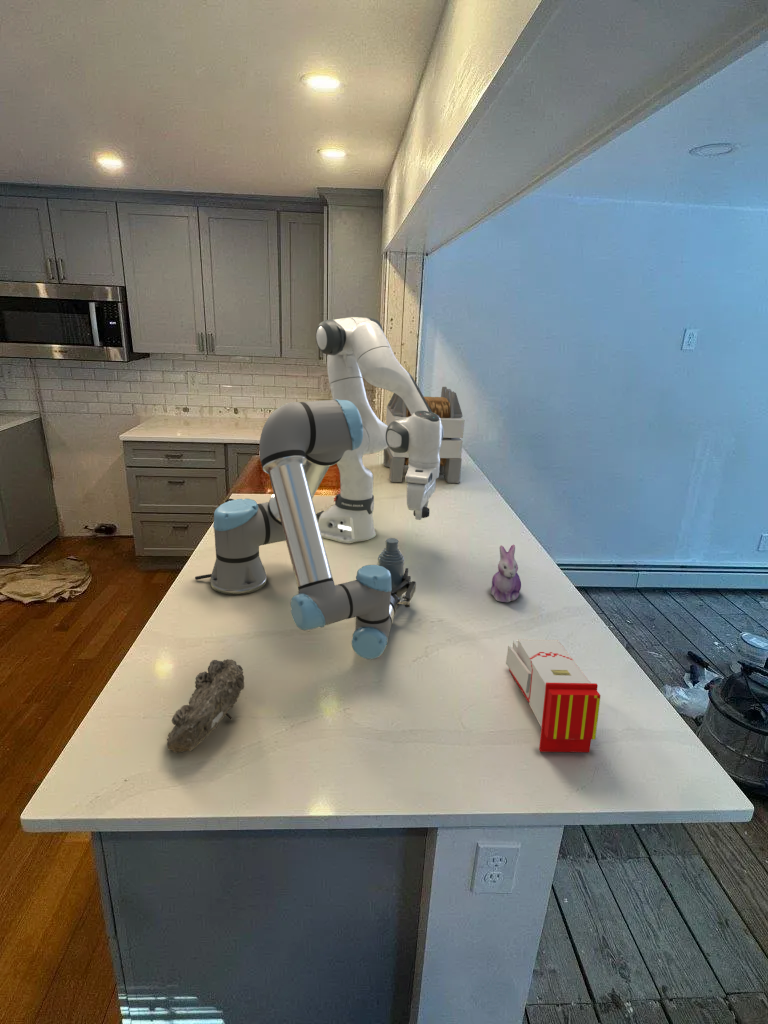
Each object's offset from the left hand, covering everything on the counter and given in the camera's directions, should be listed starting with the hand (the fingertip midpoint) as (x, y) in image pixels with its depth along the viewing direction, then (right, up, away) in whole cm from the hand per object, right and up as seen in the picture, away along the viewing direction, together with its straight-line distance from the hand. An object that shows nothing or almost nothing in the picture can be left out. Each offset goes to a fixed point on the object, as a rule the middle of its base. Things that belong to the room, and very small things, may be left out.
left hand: (392, 571), depth 157 cm
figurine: (+32, -7, +3) cm, 33 cm away
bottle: (-1, -8, -2) cm, 8 cm away
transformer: (+15, +35, +118) cm, 124 cm away
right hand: (+8, +15, +8) cm, 19 cm away
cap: (+9, +17, +7) cm, 20 cm away
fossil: (-35, -23, -49) cm, 64 cm away
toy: (+30, -23, -41) cm, 56 cm away
